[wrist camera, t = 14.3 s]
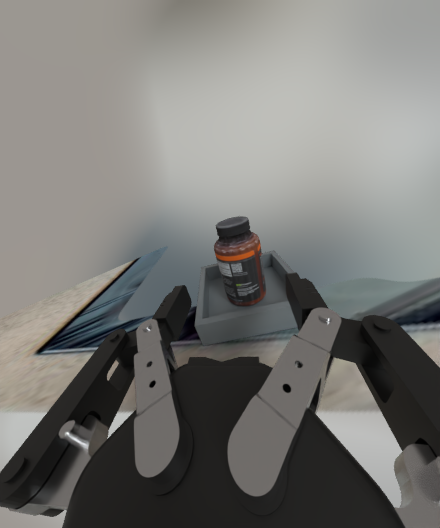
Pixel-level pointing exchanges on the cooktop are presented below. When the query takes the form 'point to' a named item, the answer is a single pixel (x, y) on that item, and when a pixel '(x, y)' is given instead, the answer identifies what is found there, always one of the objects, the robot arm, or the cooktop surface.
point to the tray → (243, 317)
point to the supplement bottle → (240, 261)
